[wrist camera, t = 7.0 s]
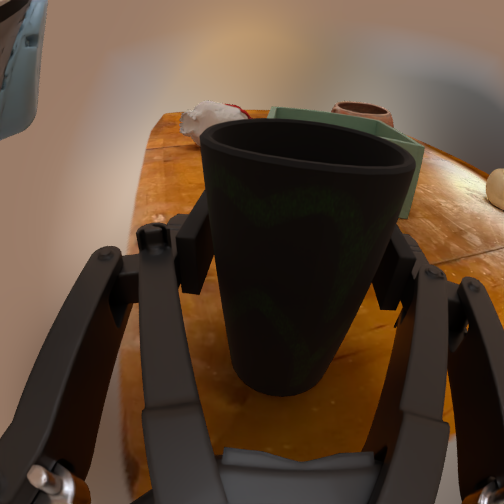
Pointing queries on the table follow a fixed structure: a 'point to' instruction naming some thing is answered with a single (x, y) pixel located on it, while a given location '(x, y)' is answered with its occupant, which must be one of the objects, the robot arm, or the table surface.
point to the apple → (496, 188)
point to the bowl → (364, 111)
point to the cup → (297, 238)
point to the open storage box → (365, 126)
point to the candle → (208, 117)
